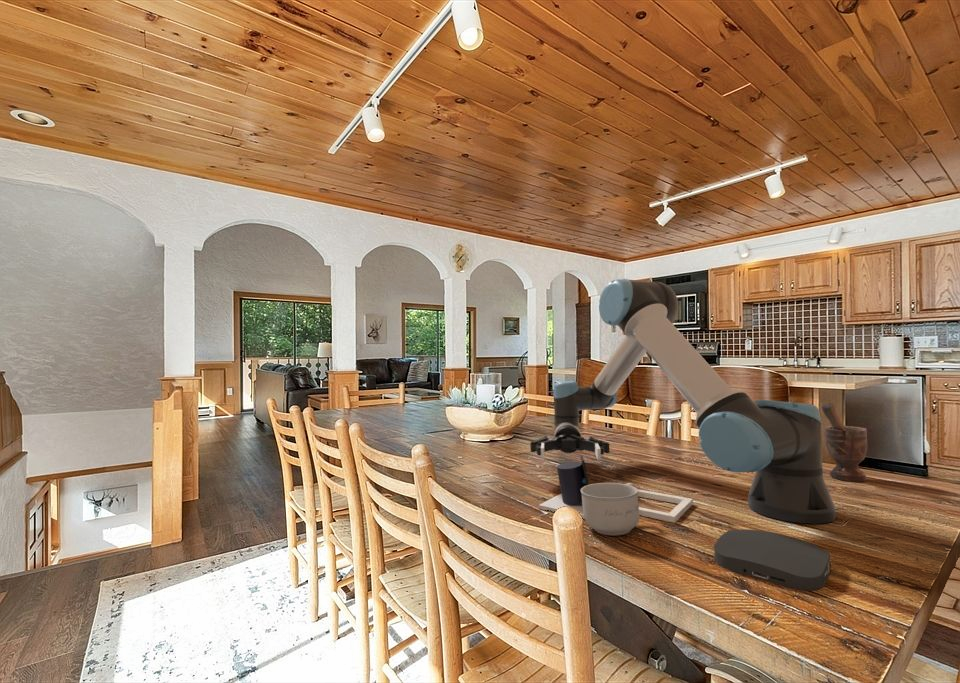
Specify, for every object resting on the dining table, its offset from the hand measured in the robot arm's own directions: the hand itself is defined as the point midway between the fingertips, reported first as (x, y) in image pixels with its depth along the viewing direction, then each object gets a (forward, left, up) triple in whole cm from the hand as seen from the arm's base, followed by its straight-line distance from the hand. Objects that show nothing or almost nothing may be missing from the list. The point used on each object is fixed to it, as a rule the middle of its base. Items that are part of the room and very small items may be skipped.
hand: (570, 454), depth 110 cm
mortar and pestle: (-52, -51, -10) cm, 73 cm away
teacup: (-17, +14, -10) cm, 24 cm away
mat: (-5, +8, -10) cm, 13 cm away
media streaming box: (-43, +13, -10) cm, 46 cm away
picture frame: (-19, -2, -10) cm, 21 cm away
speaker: (-5, +8, -9) cm, 13 cm away
